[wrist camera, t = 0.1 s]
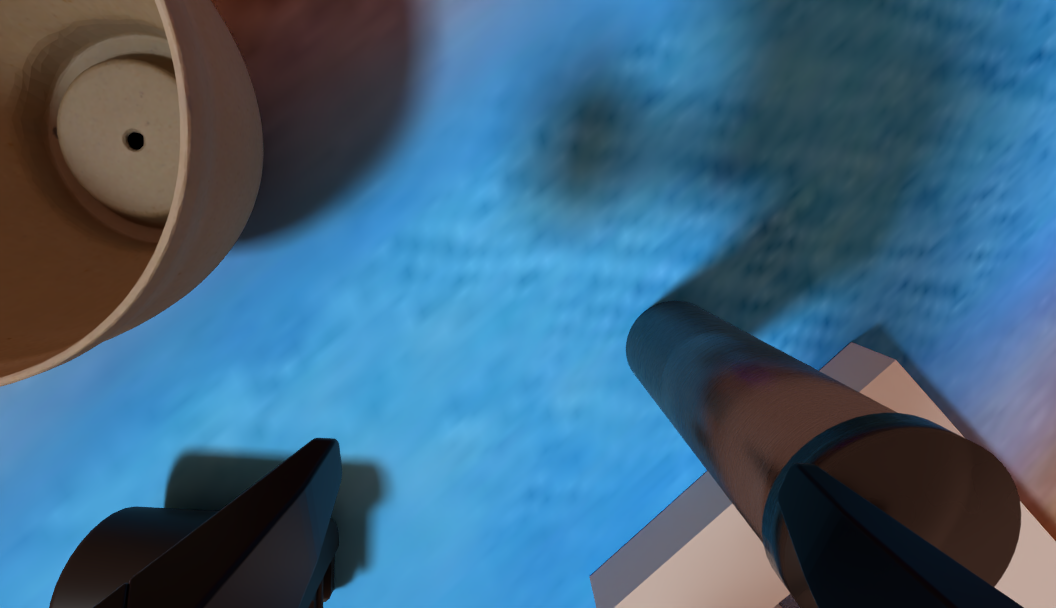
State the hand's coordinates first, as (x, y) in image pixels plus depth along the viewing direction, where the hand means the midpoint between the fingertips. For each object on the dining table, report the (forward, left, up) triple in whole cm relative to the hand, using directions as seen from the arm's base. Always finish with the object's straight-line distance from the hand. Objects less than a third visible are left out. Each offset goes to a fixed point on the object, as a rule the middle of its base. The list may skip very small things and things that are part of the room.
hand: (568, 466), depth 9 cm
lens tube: (+4, -7, -15) cm, 17 cm away
